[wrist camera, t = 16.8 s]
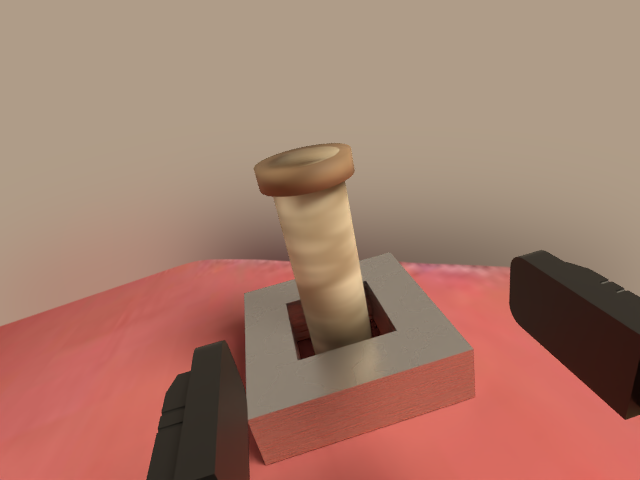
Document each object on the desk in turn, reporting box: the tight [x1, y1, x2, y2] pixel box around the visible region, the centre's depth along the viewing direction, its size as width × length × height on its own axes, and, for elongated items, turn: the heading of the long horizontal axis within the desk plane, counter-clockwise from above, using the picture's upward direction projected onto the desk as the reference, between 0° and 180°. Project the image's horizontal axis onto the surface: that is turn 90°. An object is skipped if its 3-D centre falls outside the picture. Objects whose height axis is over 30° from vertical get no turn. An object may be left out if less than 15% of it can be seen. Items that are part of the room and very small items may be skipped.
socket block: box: [244, 253, 475, 465], centre depth 25 cm, size 12×12×4 cm
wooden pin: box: [254, 143, 372, 355], centre depth 23 cm, size 5×5×14 cm
